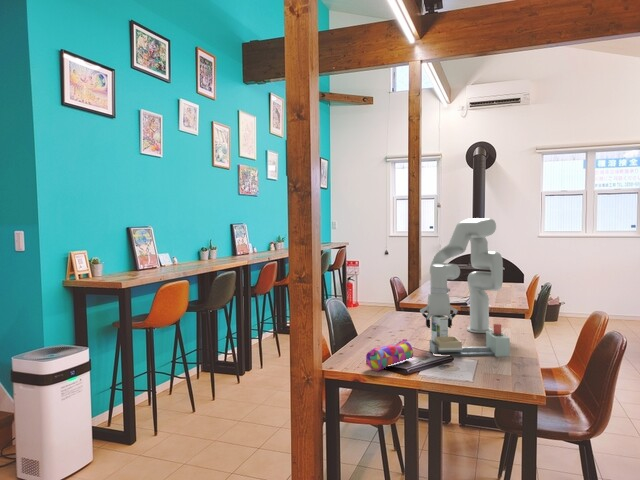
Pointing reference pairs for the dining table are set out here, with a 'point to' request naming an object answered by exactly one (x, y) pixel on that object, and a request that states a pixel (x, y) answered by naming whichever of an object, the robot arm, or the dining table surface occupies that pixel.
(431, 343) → the rail
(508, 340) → the housing
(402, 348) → the pencil case
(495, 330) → the button
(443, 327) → the syrup box
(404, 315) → the dining table surface
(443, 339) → the carriage
